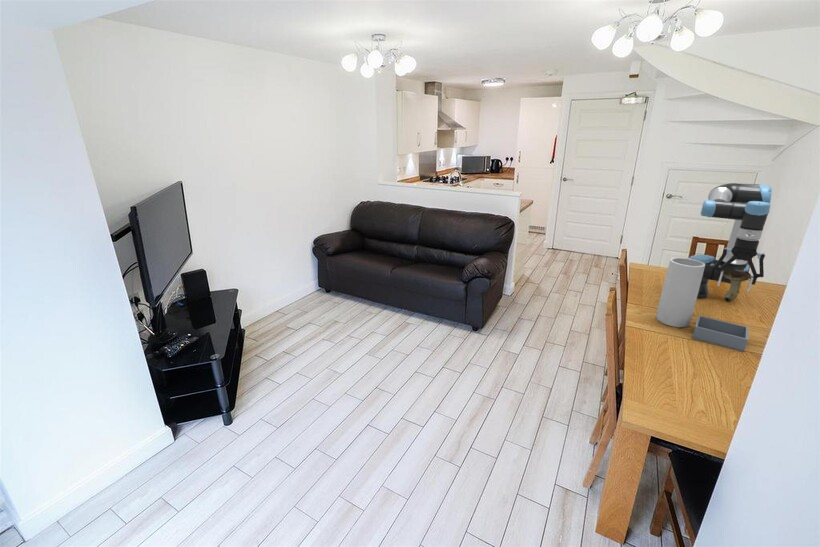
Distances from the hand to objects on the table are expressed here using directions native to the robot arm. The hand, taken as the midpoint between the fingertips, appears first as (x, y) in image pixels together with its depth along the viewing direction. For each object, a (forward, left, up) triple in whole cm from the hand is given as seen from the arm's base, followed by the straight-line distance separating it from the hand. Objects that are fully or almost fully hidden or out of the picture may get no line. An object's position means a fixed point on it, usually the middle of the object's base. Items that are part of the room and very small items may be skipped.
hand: (732, 288), depth 170 cm
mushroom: (0, 0, -7) cm, 7 cm away
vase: (-5, -19, -25) cm, 31 cm away
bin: (+1, 0, -24) cm, 25 cm away
